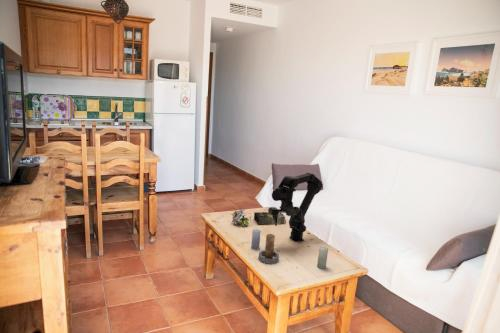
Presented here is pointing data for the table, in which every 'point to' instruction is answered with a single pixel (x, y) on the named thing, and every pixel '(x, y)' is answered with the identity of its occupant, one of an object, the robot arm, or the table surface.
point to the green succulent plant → (240, 217)
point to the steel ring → (268, 260)
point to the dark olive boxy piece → (268, 218)
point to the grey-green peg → (322, 257)
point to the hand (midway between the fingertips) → (283, 225)
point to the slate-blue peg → (255, 239)
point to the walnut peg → (269, 245)
